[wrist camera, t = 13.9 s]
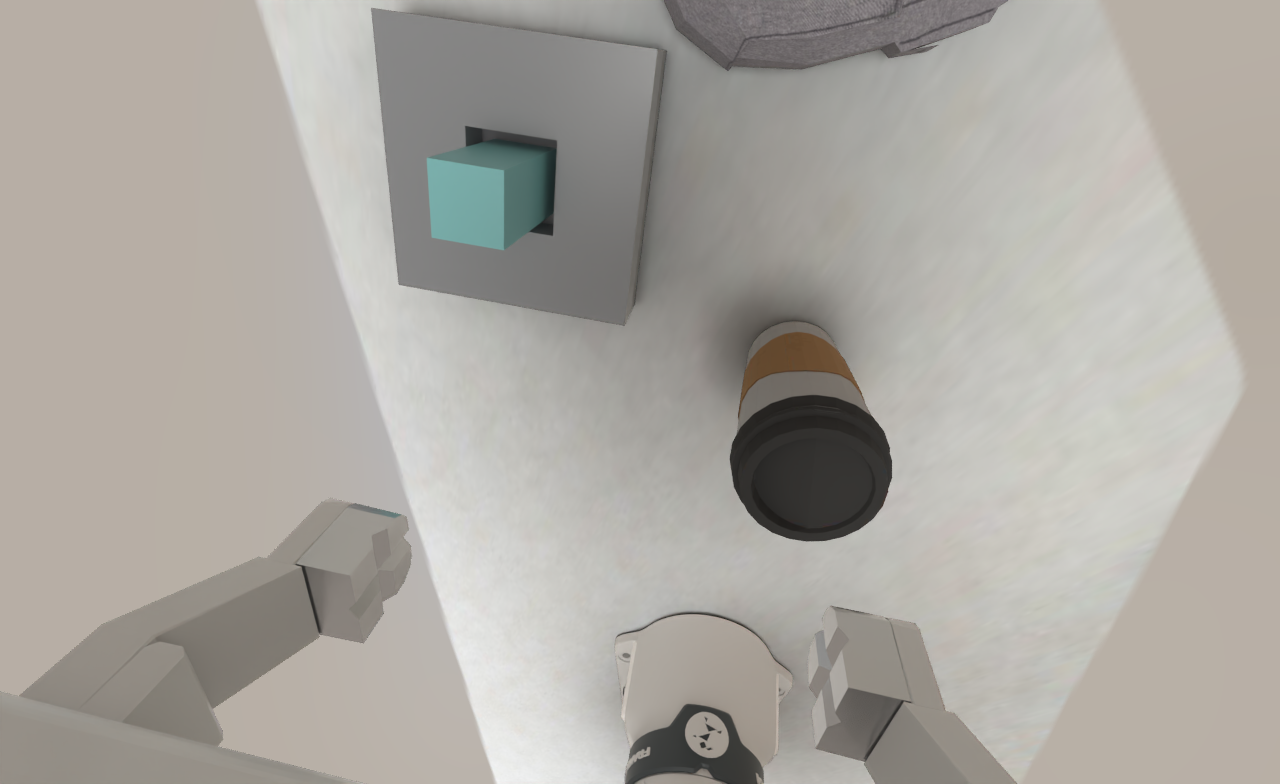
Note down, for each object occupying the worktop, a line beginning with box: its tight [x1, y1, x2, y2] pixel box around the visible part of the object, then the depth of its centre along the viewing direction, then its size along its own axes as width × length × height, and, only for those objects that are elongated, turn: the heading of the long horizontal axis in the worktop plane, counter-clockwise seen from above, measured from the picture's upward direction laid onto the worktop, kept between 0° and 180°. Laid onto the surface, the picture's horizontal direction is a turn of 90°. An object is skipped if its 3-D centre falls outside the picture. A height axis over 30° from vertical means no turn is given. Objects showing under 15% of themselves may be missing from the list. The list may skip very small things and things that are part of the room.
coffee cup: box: [730, 321, 892, 541], centre depth 35 cm, size 8×8×15 cm
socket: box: [371, 8, 667, 326], centre depth 36 cm, size 16×16×4 cm
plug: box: [427, 139, 557, 250], centre depth 33 cm, size 4×4×9 cm
